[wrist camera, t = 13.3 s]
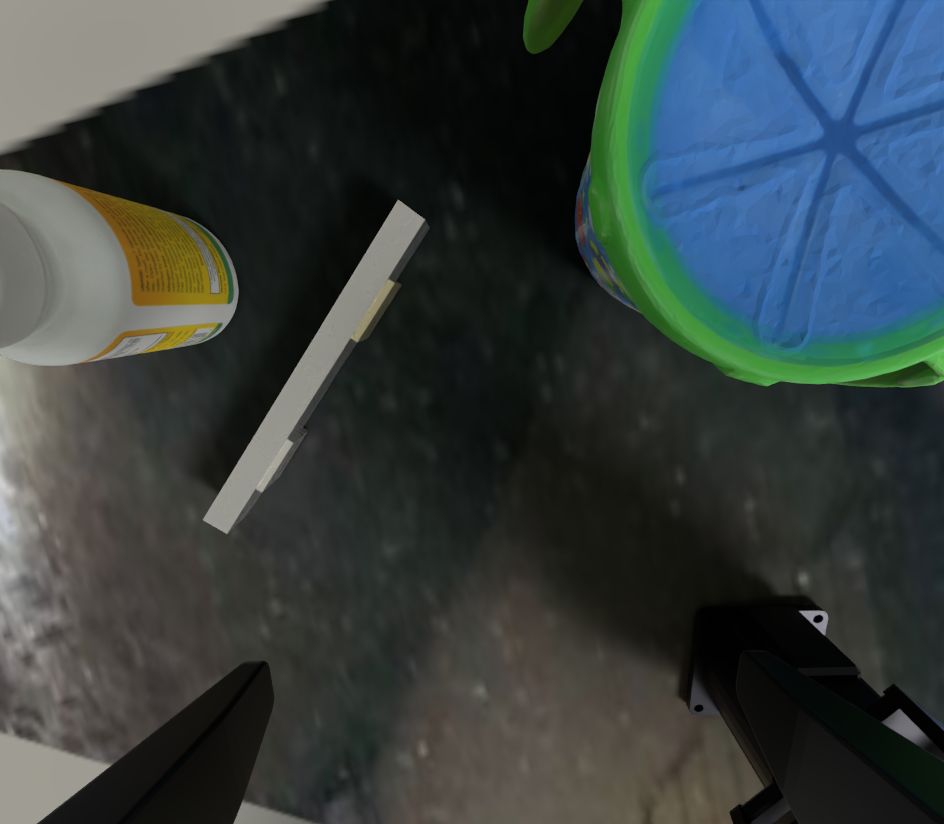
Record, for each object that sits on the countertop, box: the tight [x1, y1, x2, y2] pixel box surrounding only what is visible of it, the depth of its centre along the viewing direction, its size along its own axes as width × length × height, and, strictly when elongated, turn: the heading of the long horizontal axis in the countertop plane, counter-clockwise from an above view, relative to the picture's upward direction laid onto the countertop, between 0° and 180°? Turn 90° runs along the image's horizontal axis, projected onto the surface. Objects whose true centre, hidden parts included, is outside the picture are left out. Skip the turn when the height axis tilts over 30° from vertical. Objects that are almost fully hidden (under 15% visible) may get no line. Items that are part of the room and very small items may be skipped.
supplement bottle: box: [0, 170, 239, 366], centre depth 15 cm, size 5×5×10 cm
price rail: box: [203, 200, 430, 534], centre depth 19 cm, size 16×2×2 cm, turn 145°
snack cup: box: [523, 0, 944, 387], centre depth 14 cm, size 16×10×10 cm
